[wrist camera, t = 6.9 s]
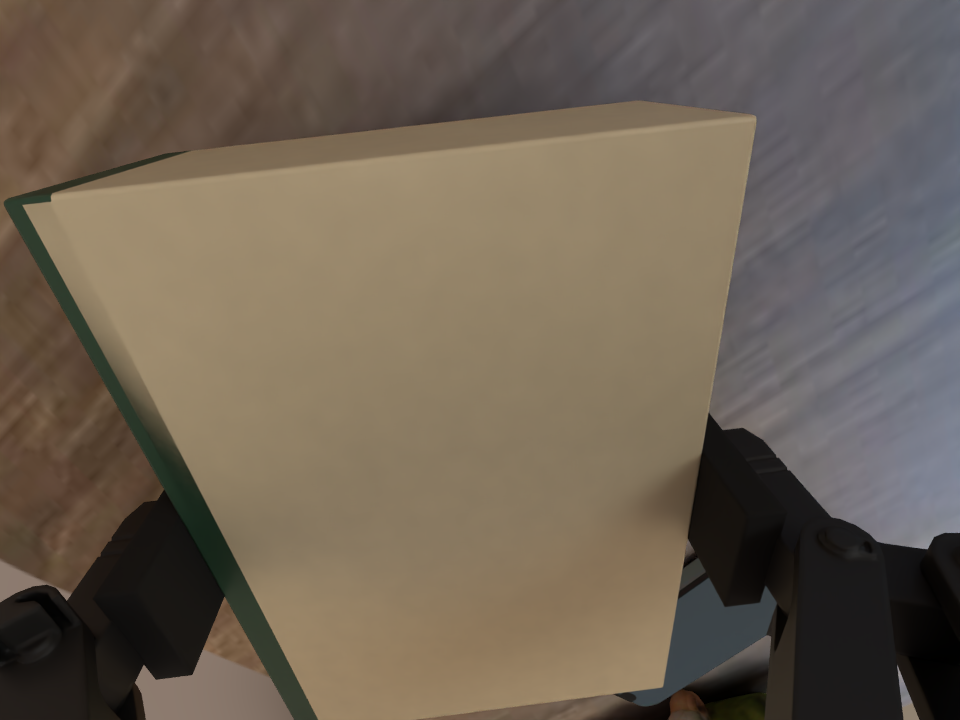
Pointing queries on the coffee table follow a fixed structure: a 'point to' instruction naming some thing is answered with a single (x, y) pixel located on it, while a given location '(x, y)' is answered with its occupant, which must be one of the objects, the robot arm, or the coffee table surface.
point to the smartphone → (705, 633)
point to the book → (422, 387)
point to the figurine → (717, 707)
